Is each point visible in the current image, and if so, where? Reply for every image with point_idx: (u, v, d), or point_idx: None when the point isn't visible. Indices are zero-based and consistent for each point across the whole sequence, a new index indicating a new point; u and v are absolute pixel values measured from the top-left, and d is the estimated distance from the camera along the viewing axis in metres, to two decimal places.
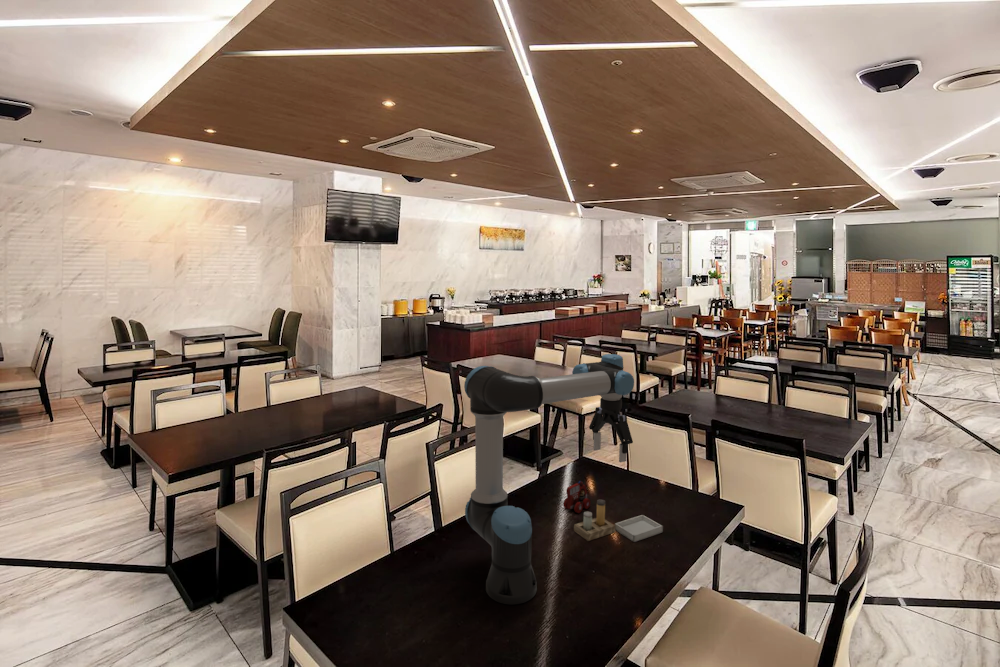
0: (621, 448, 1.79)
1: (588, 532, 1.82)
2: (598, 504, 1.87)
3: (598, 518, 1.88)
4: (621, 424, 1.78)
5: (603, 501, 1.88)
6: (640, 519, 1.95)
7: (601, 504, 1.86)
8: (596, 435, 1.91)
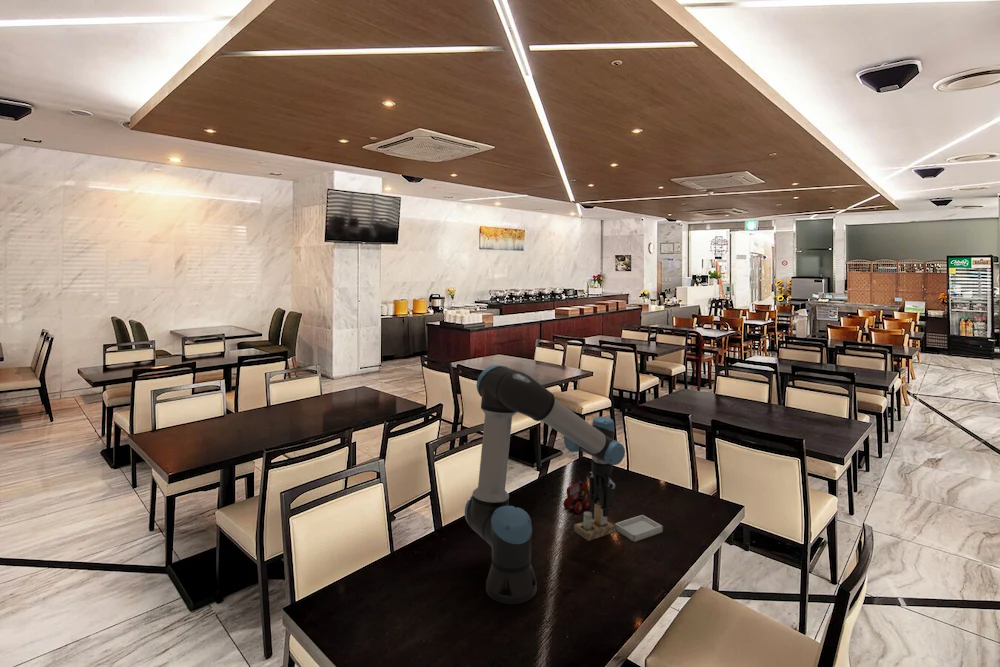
0: (602, 511, 1.86)
1: (588, 532, 1.82)
2: (598, 504, 1.87)
3: (598, 518, 1.88)
4: (608, 491, 1.82)
5: None
6: (640, 519, 1.95)
7: (601, 504, 1.86)
8: None
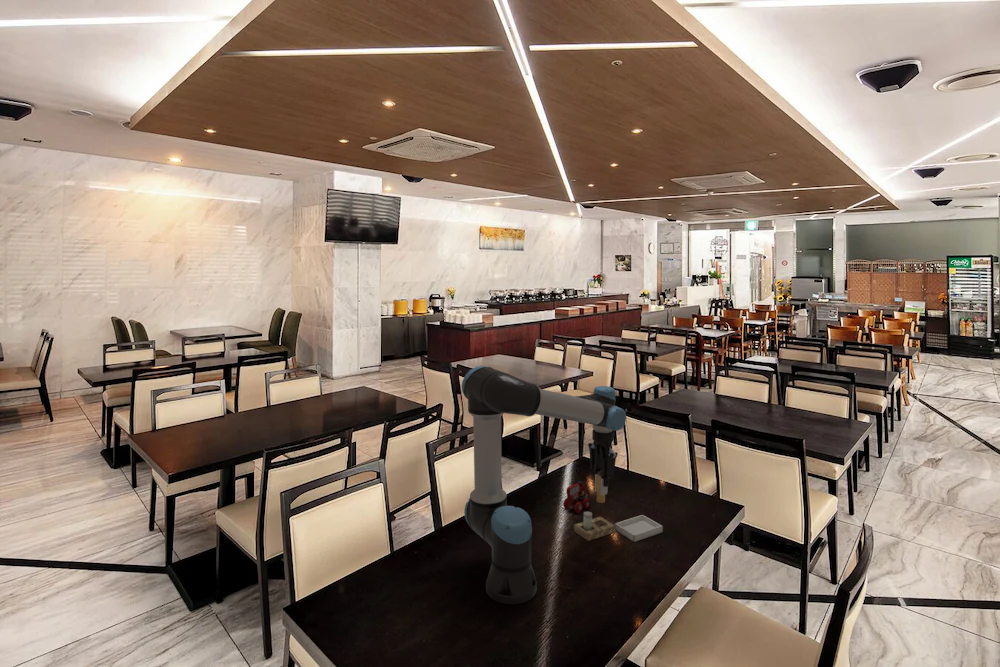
0: (602, 481, 1.85)
1: (588, 532, 1.82)
2: (599, 475, 1.86)
3: (598, 489, 1.86)
4: (609, 460, 1.81)
5: None
6: (640, 519, 1.95)
7: (602, 475, 1.85)
8: None
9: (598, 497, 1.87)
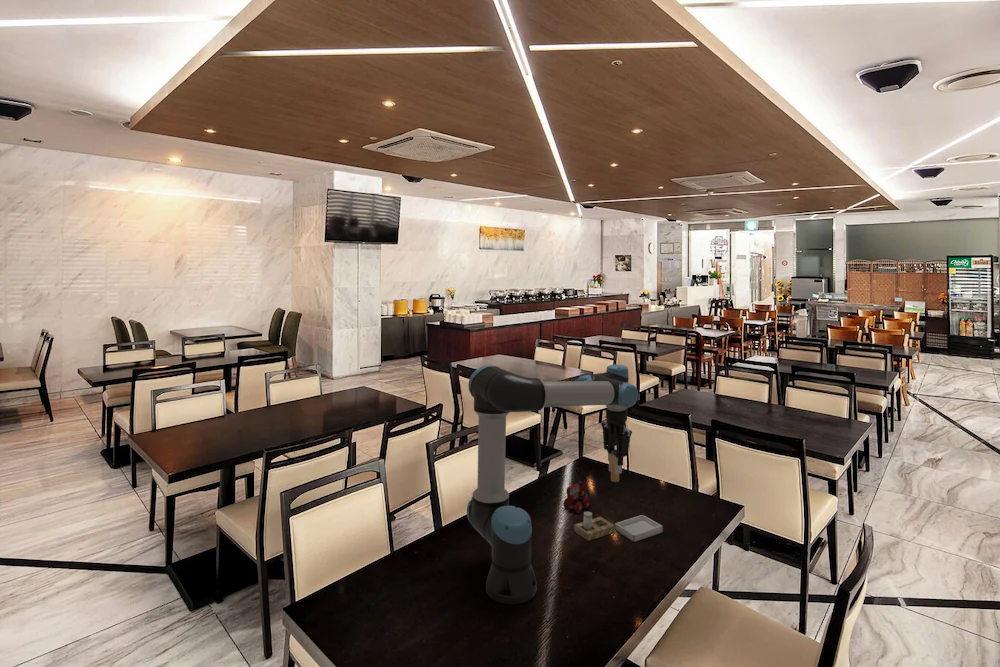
0: (617, 460, 1.84)
1: (588, 532, 1.82)
2: (613, 454, 1.85)
3: (613, 468, 1.85)
4: (624, 438, 1.80)
5: None
6: (640, 519, 1.95)
7: (616, 453, 1.84)
8: None
9: (612, 476, 1.86)
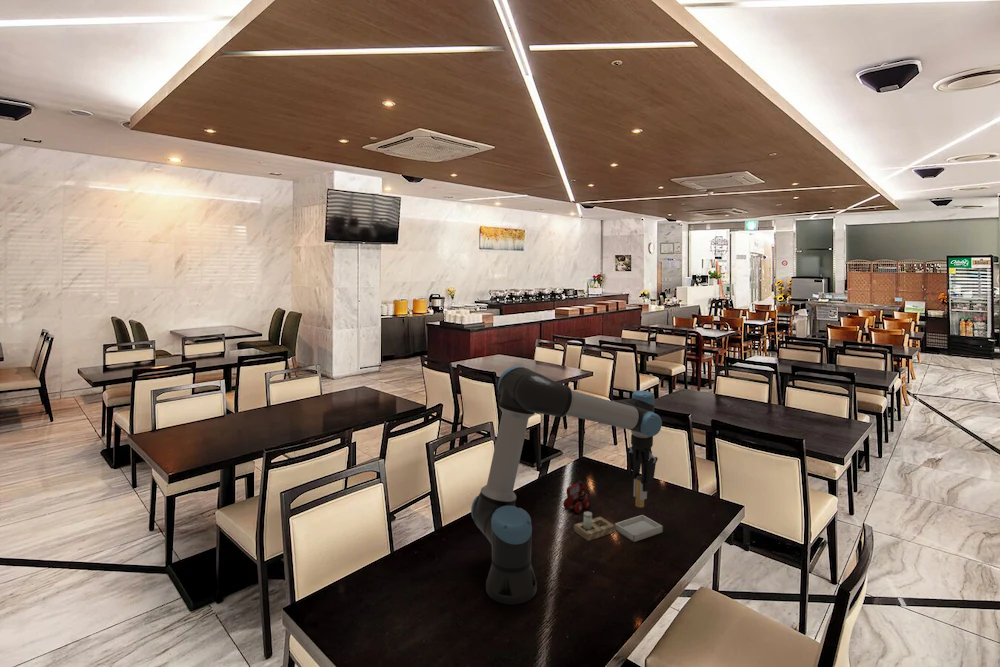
0: (642, 486, 1.84)
1: (588, 532, 1.82)
2: (638, 479, 1.85)
3: (638, 494, 1.86)
4: (649, 465, 1.80)
5: None
6: (640, 519, 1.95)
7: (641, 479, 1.85)
8: None
9: (637, 502, 1.86)
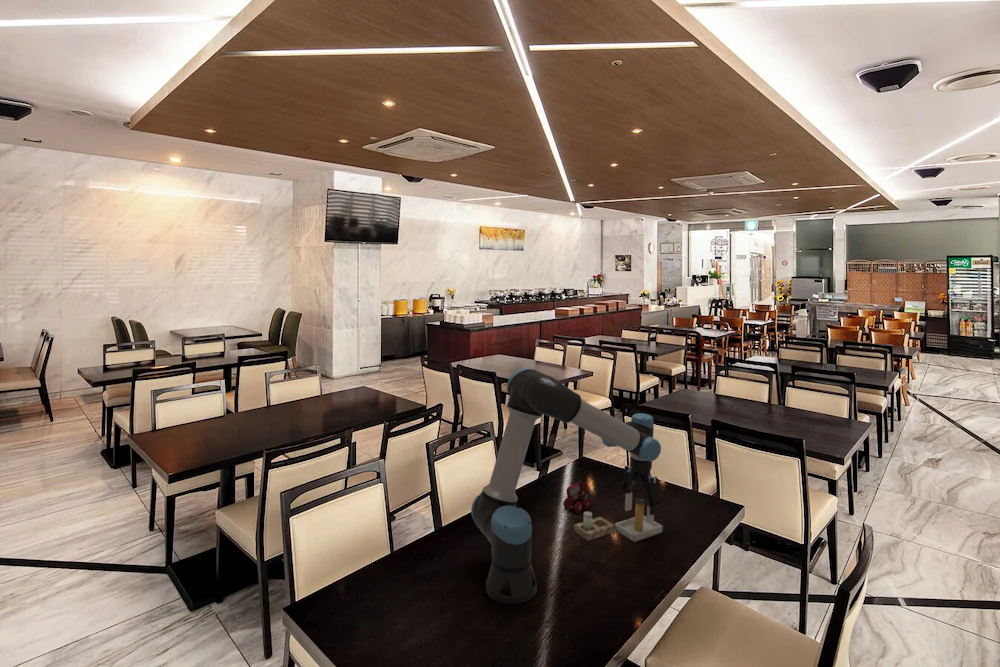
0: (649, 509, 1.82)
1: (588, 532, 1.82)
2: (637, 503, 1.86)
3: (636, 518, 1.87)
4: (651, 486, 1.80)
5: (642, 500, 1.87)
6: None
7: (640, 503, 1.86)
8: (627, 496, 1.91)
9: (636, 525, 1.87)
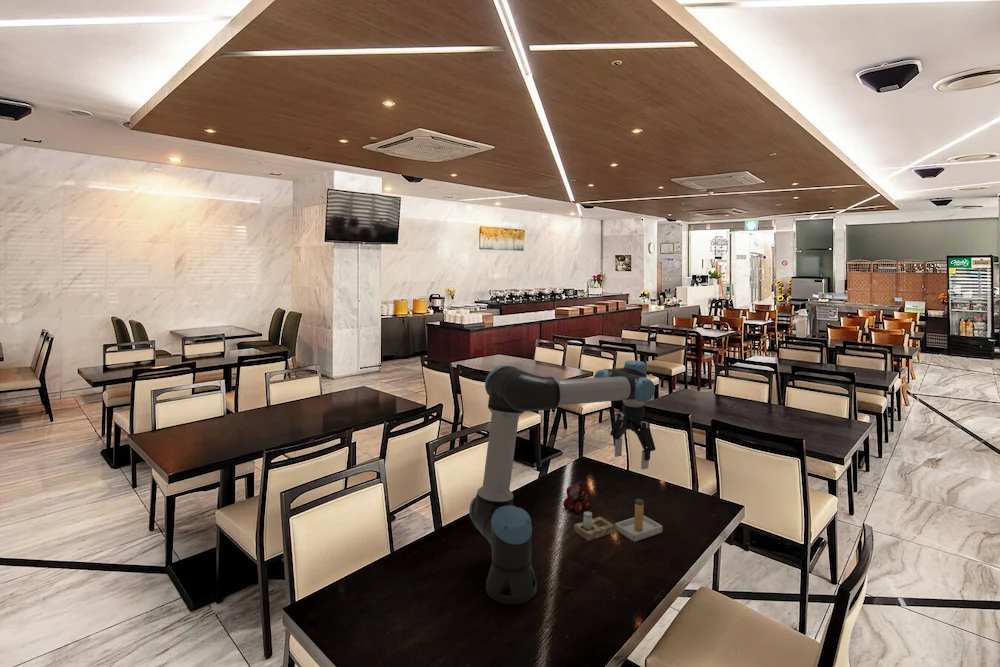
0: (643, 455, 1.79)
1: (588, 532, 1.82)
2: (636, 503, 1.86)
3: (636, 518, 1.87)
4: (644, 431, 1.78)
5: (641, 501, 1.87)
6: None
7: (639, 503, 1.86)
8: (617, 441, 1.90)
9: (636, 526, 1.87)
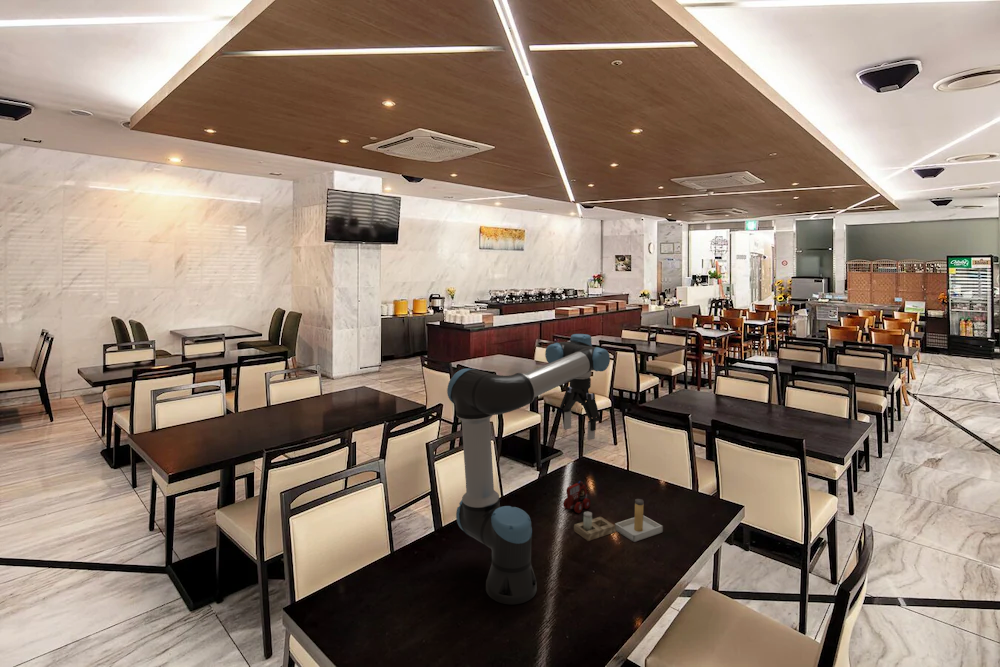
0: (589, 426, 1.82)
1: (588, 532, 1.82)
2: (636, 503, 1.86)
3: (636, 518, 1.87)
4: (589, 402, 1.81)
5: (641, 501, 1.87)
6: None
7: (639, 503, 1.86)
8: (566, 414, 1.94)
9: (636, 526, 1.87)
